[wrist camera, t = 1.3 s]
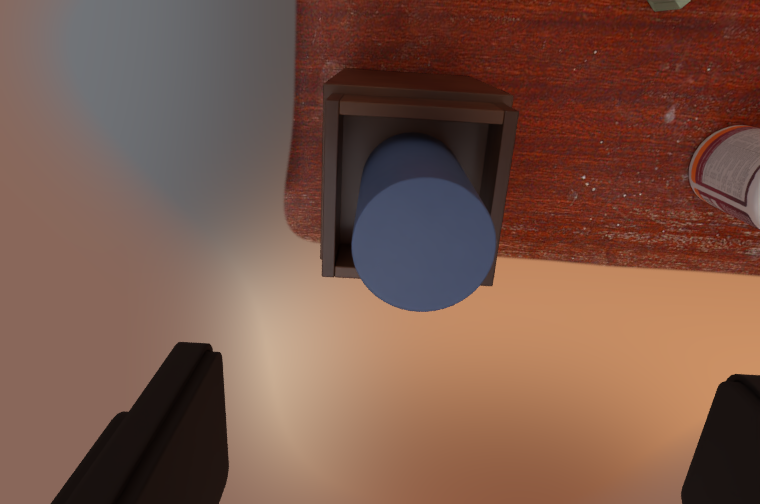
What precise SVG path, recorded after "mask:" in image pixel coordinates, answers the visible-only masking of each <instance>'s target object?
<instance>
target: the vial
mask: <svg viewBox="0 0 760 504" xmlns="http://www.w3.org/2000/svg"><path fill="white" fill-rule="evenodd" d="M351 245H352V257H353V262H354V265H355V268H356V271H357V273H358V275H359V277H360V278H361V280H362V281H363V283H364V284H365V285H366V287H367V288H368V289H369V290H370V291H371V292H372V293H373V294H374V295H375V296H377V297H378V298H380V299H381V300H383V301H384V302H386V303H388V304H390V305H392V306H394V307H397V308H400V309H404V310H408V311H417V312H420V311H421V312H428V311H436V310H440V309H444V308H447V307H450V306H452V305H455V304H456V303H458V302H460V301H462V300H463V299H465V298H467V297H468V296H469V295H470V294H472V293H473V292H474V291H475V290H476V289H477V288H478V287H479V286H480V285H481V284H482V282H483V281H484V279H485V278H486V276H487V275H488V273H489V271H490V269H491V266H492V264H493V261H494V257H495V252H496V232H495V227H494V224H493V221H492V218H491V216H490V214H489V212H488V210H487V208H486V207H485V205H484V203H483V202H482V200H481V198H480V197H479V195H478V194H477V192H476V190H475V189H474V187H473V185H472V184H471V182H470V180H469V179H468V177H467V175H466V174H465V172H464V170H463V169H462V167H461V166H460V164H459V162H458V161H457V159H456V157H455V156H454V154H453V153H452V151H451V150H450V149H449V148H448V147H447V146H446V145H445V144H444V143H442V142H441V141H440V140H438V139H436V138H435V137H432V136H430V135H427V134H423V133H416V132H414V133H402V134H398V135H395V136H393V137H390V138H388V139H387V140H385V141H383V142H382V143H381V144H379V145H378V146H377V147H376V148H375V149H374V150H373V151H372V153H371V154H370V155H369V157H368V159H367V161H366V163H365V166H364V169H363V173H362V178H361V184H360V191H359V197H358V203H357V209H356V215H355V222H354V228H353V234H352V243H351Z"/></svg>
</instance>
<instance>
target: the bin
mask: <svg viewBox="0 0 760 504" xmlns="http://www.w3.org/2000/svg"><path fill="white" fill-rule="evenodd" d="M647 1H648V3H649V4H650V6H651V7H652V9H653V10H654V11H664V10H674V9H681V8H682V7H683V6H685V5H686V4H687V3H688V2H690V1H691V0H647Z"/></svg>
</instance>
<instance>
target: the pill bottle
mask: <svg viewBox="0 0 760 504" xmlns="http://www.w3.org/2000/svg"><path fill="white" fill-rule="evenodd" d="M689 181H690V184H691V187H692V189H693V191H694V192H695V194H696V195H697V196H698V197H699V198H701V199H702V200H703V201H705V202H707V203H708V204H710V205H712V206H714V207H716V208H718V209H720V210H722V211H724V212H726V213H728V214H730V215H732V216H734V217H736V218H738V219H740V220H742V221H744V222H745V223H747V224H749V225H751V226H753V227H755V228H757V229H759V230H760V128H757V127H753V126H746V125H736V126H730V127H726V128H723V129H721V130H719V131H717V132H715V133H713V134H712V135H710V136H709V137H708V138H706V139H705V140H704V141H703V142H702V143H701V144H700V146H699V147H698V148H697V150H696V151H695V153H694V155H693V157H692V160H691V163H690V166H689Z"/></svg>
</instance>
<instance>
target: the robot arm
mask: <svg viewBox="0 0 760 504" xmlns="http://www.w3.org/2000/svg"><path fill="white" fill-rule="evenodd" d="M228 469H229V461H228V444H227V428H226V413H225V395H224V378H223V362H222V355H221V353H220V352H213V349H212V347H211V345H210V344H206V343H188V342H178V343H177V344H176V345H175V347H174V348H173V349H172V351H171V352H170V354H169V355H168V357H167V358H166V359H165V361H164V362H163V364H162V365H161V367H160V368H159V370H158V371H157V372H156V374H155V375H154V377H153V378H152V379H151V381H150V382H149V384H148V385H147V387H146V388H145V389H144V391H143V392H142V394H141V395H140V397H139V398H138V399H137V401H136V402H135V404H134V405H133V407H132V408H131V410H130V411H129V412H121V413H119V414H117V415H116V416H115V417H114V418H113V419H112V420H111V422H110V423H109V424H108V426H107V427H106V429H105V430H104V431H103V433H102V434H101V435H100V437H99V438H98V440H97V441H96V442H95V444H94V445H93V446H92V448H91V449H90V451H89V452H88V453H87V455H86V456H85V457H84V459H83V460H82V462H81V463H80V464H79V466H78V467H77V468H76V470H75V471H74V473H73V474H72V475H71V477H70V478H69V479H68V481H67V482H66V483H65V485H64V486H63V488H62V489H61V490H60V492H59V493H58V494H57V496H56V497H55V498H54V500H53V501H52V503H51V504H219V501H220V499H221V496H222V493H223V491H224V488H225V485H226V481H227V477H228ZM681 499H682V504H760V375H742V374H735V375H731V376H730V377H729V378H728V379H727V380H726V381H725V382H722V383H721V384H720V385H719V386H718V388H717V391H716V394H715V397H714V399H713V402H712V405H711V408H710V411H709V414H708V416H707V420H706V422H705V425H704V428H703V431H702V433H701V436H700V439H699V442H698V445H697V448H696V450H695V453H694V456H693V459H692V462H691V465H690V467H689V470H688V473H687V476H686V479H685V482H684V485H683V487H682V492H681Z"/></svg>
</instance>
